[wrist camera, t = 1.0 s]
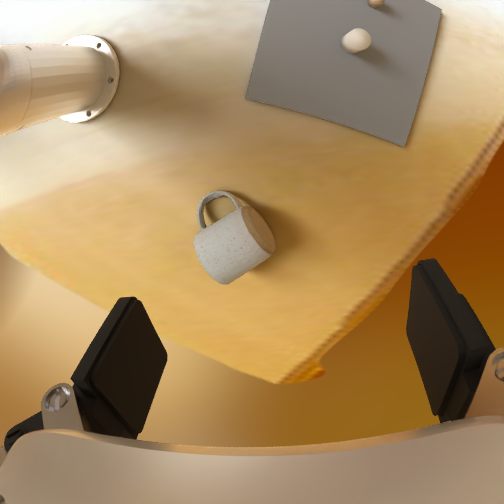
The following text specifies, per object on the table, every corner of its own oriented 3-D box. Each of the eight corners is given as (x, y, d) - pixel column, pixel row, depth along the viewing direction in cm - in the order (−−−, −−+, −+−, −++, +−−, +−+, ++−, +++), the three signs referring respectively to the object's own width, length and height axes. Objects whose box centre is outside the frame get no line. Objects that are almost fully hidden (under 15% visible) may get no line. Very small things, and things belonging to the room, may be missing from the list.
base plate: (246, 98, 35) (240, 100, 30) (283, -44, 25) (284, -62, 20) (401, 145, 36) (418, 155, 31) (437, 10, 26) (458, 3, 21)
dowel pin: (366, 5, 27) (371, 1, 24) (368, -4, 26) (374, -9, 24) (377, 9, 27) (383, 5, 24) (379, 0, 26) (385, -4, 24)
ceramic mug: (280, 236, 44) (279, 265, 37) (233, 265, 47) (225, 296, 40) (232, 174, 40) (221, 193, 34) (186, 209, 43) (167, 233, 36)
